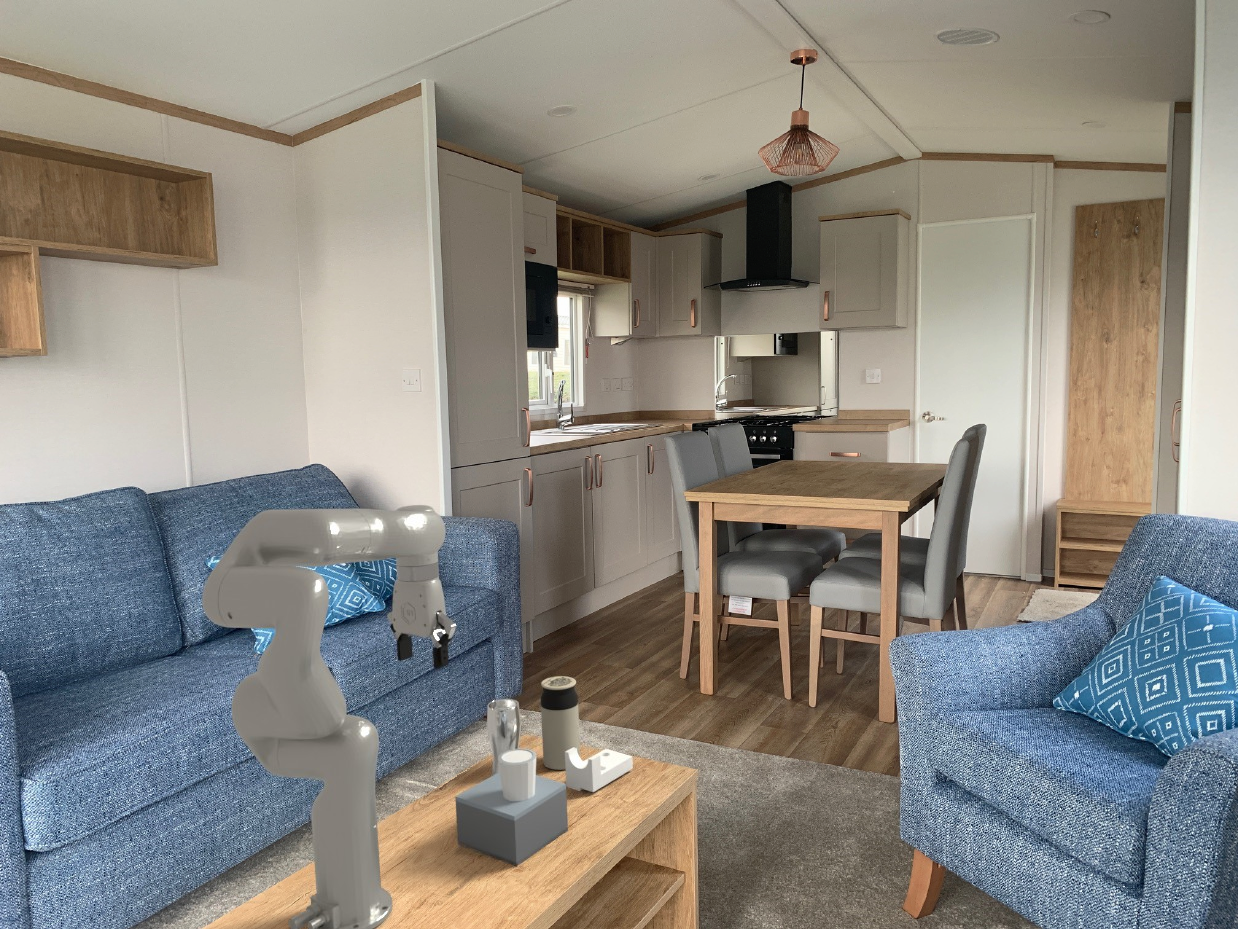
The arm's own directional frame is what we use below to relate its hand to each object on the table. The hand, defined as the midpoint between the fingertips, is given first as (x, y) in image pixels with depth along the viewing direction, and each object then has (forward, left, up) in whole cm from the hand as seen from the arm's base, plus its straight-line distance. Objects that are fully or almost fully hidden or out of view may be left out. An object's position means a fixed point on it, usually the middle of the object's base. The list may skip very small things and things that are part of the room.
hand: (423, 662), depth 162 cm
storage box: (+3, -18, -30) cm, 35 cm away
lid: (+3, -18, -22) cm, 29 cm away
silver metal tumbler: (+22, +1, -31) cm, 38 cm away
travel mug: (+32, -6, -31) cm, 45 cm away
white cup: (+3, -20, -22) cm, 30 cm away
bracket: (+30, -18, -31) cm, 47 cm away
